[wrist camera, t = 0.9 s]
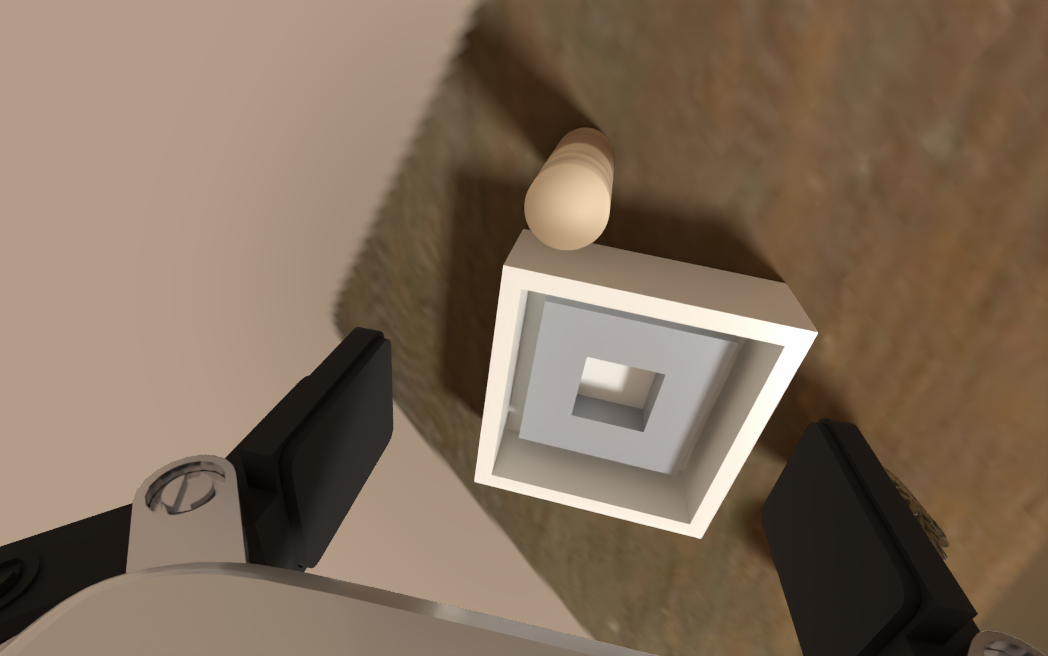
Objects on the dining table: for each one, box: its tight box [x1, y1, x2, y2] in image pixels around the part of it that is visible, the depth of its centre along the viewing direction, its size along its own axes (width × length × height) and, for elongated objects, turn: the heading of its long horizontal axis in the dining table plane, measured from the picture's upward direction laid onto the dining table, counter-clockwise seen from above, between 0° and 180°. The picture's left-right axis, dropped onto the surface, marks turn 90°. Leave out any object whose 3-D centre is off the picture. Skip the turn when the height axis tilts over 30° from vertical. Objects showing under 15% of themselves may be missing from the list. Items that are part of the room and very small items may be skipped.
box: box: [474, 229, 818, 539], centre depth 33 cm, size 18×17×6 cm
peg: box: [524, 127, 615, 250], centre depth 24 cm, size 4×4×10 cm
